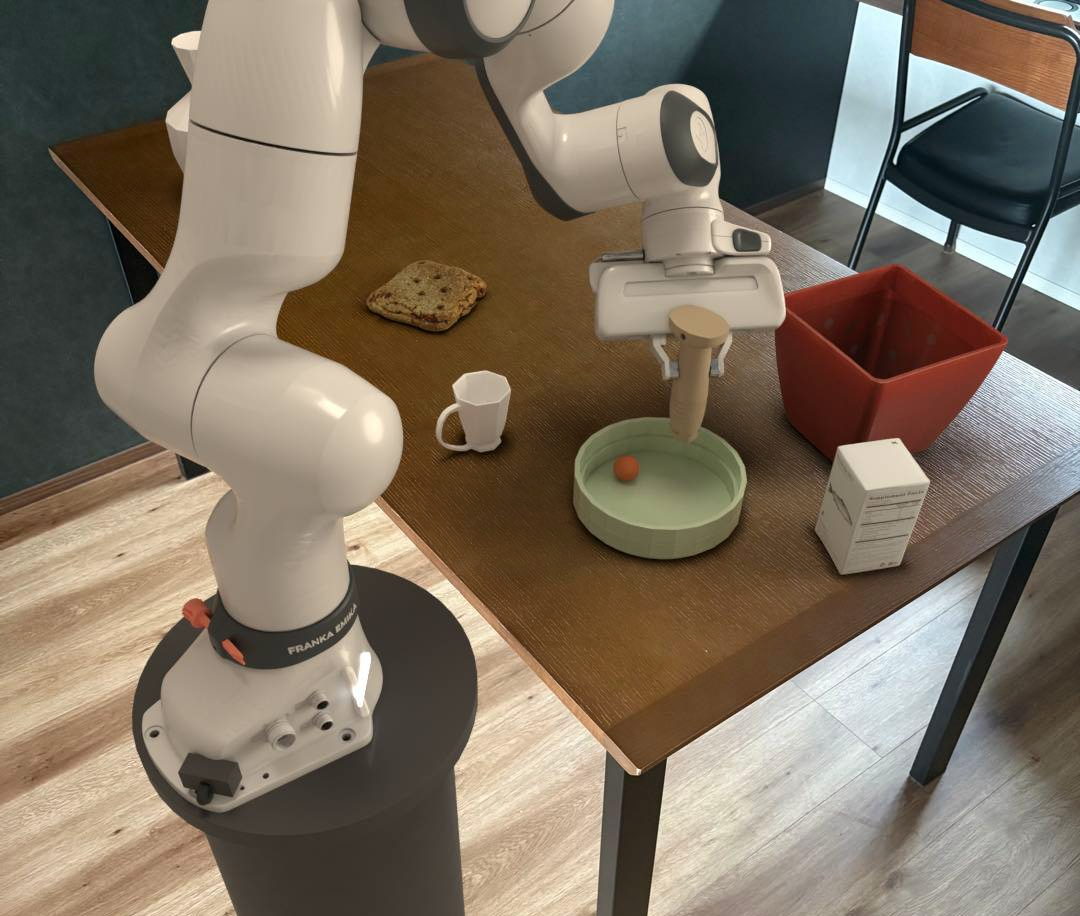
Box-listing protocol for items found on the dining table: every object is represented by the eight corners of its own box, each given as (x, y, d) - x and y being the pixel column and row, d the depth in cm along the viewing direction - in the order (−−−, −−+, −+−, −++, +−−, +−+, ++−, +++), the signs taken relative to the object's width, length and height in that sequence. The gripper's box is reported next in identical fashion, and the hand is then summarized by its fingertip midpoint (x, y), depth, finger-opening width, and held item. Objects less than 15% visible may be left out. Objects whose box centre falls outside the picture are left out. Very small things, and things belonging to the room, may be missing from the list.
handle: (676, 413, 124) (691, 299, 113) (719, 440, 120) (738, 325, 110) (647, 431, 121) (660, 316, 111) (691, 459, 118) (707, 343, 107)
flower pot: (867, 373, 143) (899, 259, 132) (969, 456, 131) (1013, 339, 120) (748, 411, 137) (771, 296, 125) (844, 503, 125) (878, 384, 113)
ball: (625, 489, 125) (627, 470, 123) (607, 477, 127) (608, 457, 125) (643, 478, 127) (645, 458, 124) (625, 466, 128) (626, 446, 126)
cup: (523, 444, 132) (523, 390, 126) (456, 476, 127) (453, 422, 122) (489, 415, 136) (488, 362, 130) (422, 446, 131) (418, 392, 125)
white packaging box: (812, 530, 122) (835, 443, 113) (873, 522, 123) (901, 435, 114) (838, 577, 116) (864, 490, 108) (902, 567, 118) (933, 480, 109)
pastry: (474, 264, 162) (474, 246, 160) (499, 327, 150) (499, 308, 148) (359, 277, 159) (357, 258, 157) (375, 342, 147) (373, 323, 145)
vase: (171, 218, 171) (132, 55, 153) (202, 177, 181) (168, 20, 163) (259, 224, 169) (229, 61, 152) (285, 182, 180) (260, 25, 162)
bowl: (661, 589, 115) (665, 556, 111) (538, 498, 125) (539, 465, 121) (774, 507, 124) (781, 474, 121) (652, 429, 134) (655, 396, 131)
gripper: (591, 244, 110) (601, 379, 110) (785, 235, 112) (795, 367, 112) (583, 260, 117) (592, 388, 117) (767, 251, 118) (776, 377, 118)
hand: (693, 378), depth 114 cm, fingers closed on handle, 3 cm apart
